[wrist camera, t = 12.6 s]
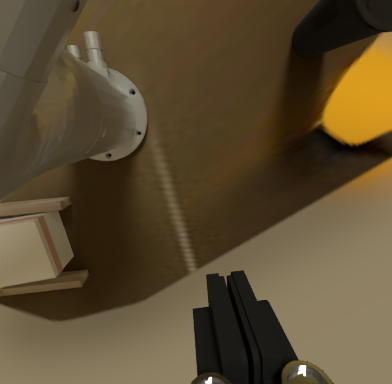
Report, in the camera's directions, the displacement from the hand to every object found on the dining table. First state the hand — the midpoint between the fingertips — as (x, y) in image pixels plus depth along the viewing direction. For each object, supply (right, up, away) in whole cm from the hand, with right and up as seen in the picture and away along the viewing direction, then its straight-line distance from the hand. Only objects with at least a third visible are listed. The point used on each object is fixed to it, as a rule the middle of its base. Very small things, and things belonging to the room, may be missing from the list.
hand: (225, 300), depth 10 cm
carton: (-27, -2, +27) cm, 38 cm away
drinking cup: (+14, +26, +22) cm, 37 cm away
